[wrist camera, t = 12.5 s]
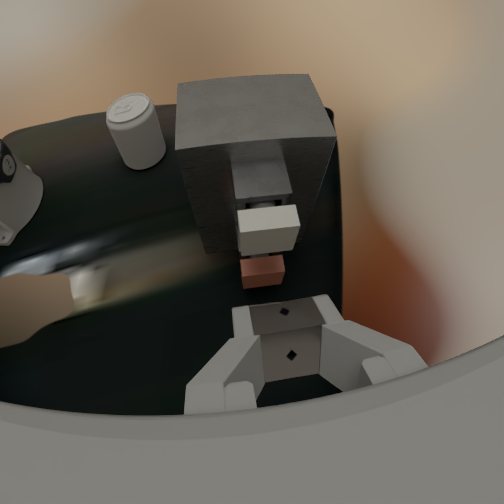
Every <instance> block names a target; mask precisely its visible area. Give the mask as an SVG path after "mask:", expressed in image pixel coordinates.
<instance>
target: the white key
mask: <svg viewBox="0 0 504 504" xmlns="http://www.w3.org/2000/svg"><path fill="white" fill-rule="evenodd" d="M237 214H238V230H239V241H240V249H241V256H247V255H255V254H263V253H271V252H280V251H288V250H293V247H294V244H295V241H296V238H297V235H298V231H299V228H300V222H299V218H298V214H297V209H296V205H285V206H276V204H275V200H269V201H260V202H250V203H249V209H247V210H238V211H237Z"/></svg>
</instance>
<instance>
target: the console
mask: <svg viewBox="0 0 504 504" xmlns="http://www.w3.org/2000/svg"><path fill="white" fill-rule="evenodd" d="M336 138H337V135H336V133H335V131H334V128H333V126H332V124H331V121H330V119H329V117H328V115H327V112H326V110H325V108H324V106H323V104H322V101H321V99H320V97H319V95H318V93H317V91H316V89H315V87H314V85H313V83H312V81H311V78H310V76H309V75H308V74H279V75H278V74H277V75H254V76H239V77H229V78H228V77H227V78H217V79H208V80H201V81H193V82H187V83H179V84H178V91H177V108H176V133H175V152H176V155H177V159H178V162H179V166H180V169H181V173H182V176H183V180H184V183H185V187H186V190H187V194H188V197H189V200H190V204H191V207H192V210H193V214H194V217H195V220H196V224H197V227H198V230H199V233H200V237H201V240H202V243H203V246H204V249H205V253H213V252H221V251H229V250H238V254H239V261H240V260H243V259H250V258H249V255H247V256H241V249H240V241H239V230H238V214H237V211H238V210H247V209H249V203H250V202H260V201H269V200H275V204H276V206H285V205H296V209H297V214H298V218H299V222H300V228H299V231H298V235H297V238H296V241H295V243H296V242H301V241H302V238H303V235H304V232H305V230H306V227H307V224H308V221H309V218H310V215H311V213H312V210H313V207H314V204H315V201H316V198H317V195H318V192H319V189H320V186H321V183H322V180H323V177H324V174H325V171H326V168H327V165H328V162H329V159H330V156H331V153H332V150H333V147H334V144H335V141H336ZM276 255H279V252H271V253H269V256H276ZM240 267H241V264H240Z"/></svg>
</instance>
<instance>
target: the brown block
mask: <svg viewBox="0 0 504 504" xmlns="http://www.w3.org/2000/svg"><path fill="white" fill-rule="evenodd" d="M249 258H250V259H243V260H240V264H241V277H242V284H243V289H246V288H254V287H262V286H269V285H277V284H281V282H282V279H283V276H284V273H285V268H284V262H283V257H282V255H276V256H269V253H263V254H255V255H249Z"/></svg>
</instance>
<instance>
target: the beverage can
mask: <svg viewBox="0 0 504 504" xmlns="http://www.w3.org/2000/svg"><path fill="white" fill-rule="evenodd" d="M106 115H107V118H106V123H107V126H108V128H109V130H110V132H111V135H112V137H113V139H114V141H115V143H116V145H117V147H118V149H119V152H120V154H121V156H122V158H123V160H124V162H125V164H126V165H127V166H128V167H130V168H132V169H136V170H141V169H146V168H149V167H151V166H153V165H155V164H156V163H158V162H159V161H160V160H161V159H162V157H163V156H164V154H165V151H166V145H165V142H164V138H163V135H162V132H161V128H160V125H159V121H158V118H157V115H156V111H155V108H154V104H153V102H152V101H151V100H150V99H149V98H148V97H147V96H146V95H145V94H142V93H132V94H128V95H125V96H123V97H120V98H119V99H117V100H116V101H114V102H113V103H112V104H111V105H110V106H109V108H108V110H107V114H106Z"/></svg>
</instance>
